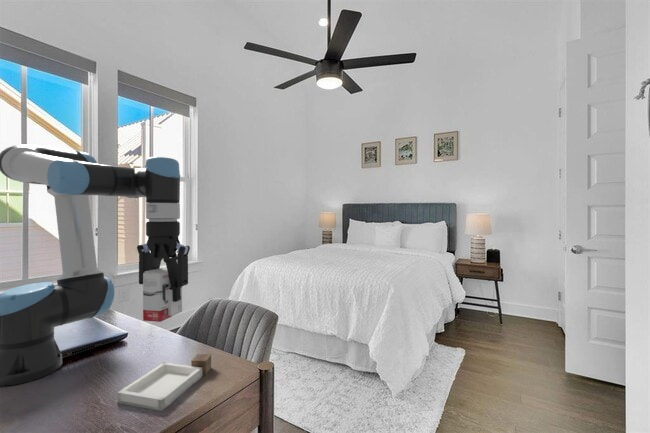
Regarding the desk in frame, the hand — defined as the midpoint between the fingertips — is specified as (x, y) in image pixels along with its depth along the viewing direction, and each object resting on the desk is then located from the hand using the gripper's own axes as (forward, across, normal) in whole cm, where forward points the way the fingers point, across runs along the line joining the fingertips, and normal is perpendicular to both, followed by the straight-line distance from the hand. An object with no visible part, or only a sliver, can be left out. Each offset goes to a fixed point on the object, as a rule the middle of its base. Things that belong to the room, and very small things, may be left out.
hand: (163, 313), depth 79 cm
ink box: (+1, 0, 0) cm, 1 cm away
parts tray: (+19, 0, 0) cm, 19 cm away
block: (+19, +4, +10) cm, 22 cm away
